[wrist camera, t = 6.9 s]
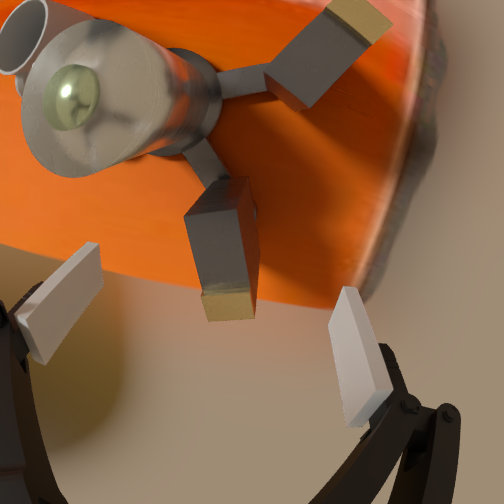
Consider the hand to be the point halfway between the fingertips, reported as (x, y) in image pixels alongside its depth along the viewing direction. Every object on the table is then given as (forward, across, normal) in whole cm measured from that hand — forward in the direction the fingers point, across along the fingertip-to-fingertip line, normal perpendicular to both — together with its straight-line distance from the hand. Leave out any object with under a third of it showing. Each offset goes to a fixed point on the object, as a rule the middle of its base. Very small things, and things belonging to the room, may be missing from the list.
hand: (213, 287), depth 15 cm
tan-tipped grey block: (+14, 0, -1) cm, 14 cm away
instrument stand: (+14, -7, +8) cm, 17 cm away
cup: (+14, -20, +14) cm, 28 cm away
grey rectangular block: (+14, +4, +13) cm, 19 cm away
